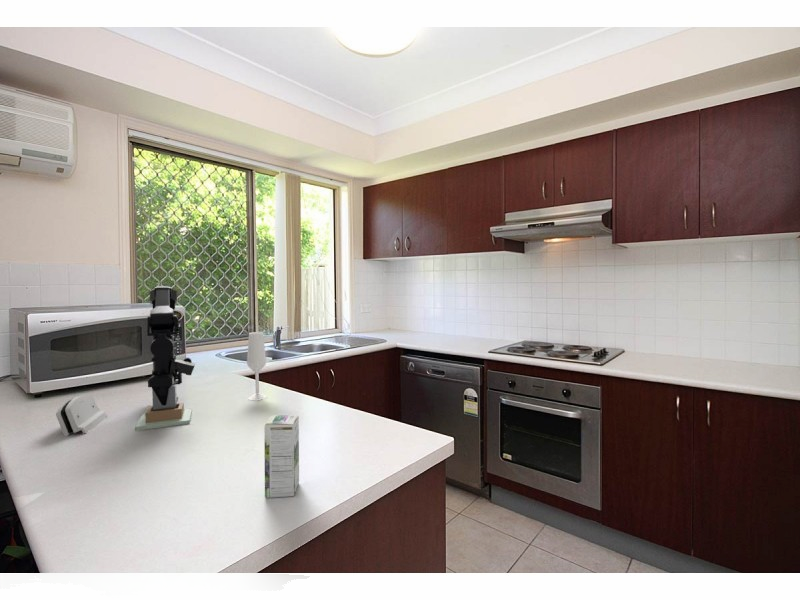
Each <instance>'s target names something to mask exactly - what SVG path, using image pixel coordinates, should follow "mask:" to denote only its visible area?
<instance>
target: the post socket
mask: <svg viewBox="0 0 800 600" xmlns="http://www.w3.org/2000/svg"><path fill="white" fill-rule="evenodd" d="M184 405H185V404H184V402H177V409H168V410H159V411H153V405H150V406H148V408H147V409H146V411H145V413H142V415H141V417H140V418H139V419H138V421H137V422H136V424H135V426H134V431H140V430H149V429H156V428H164V427H173V425H174V426H181V425H180V424H182V425H188V423H189V424H190V423H191V420H190V419H192V414H193V408H185V409H184V407H185V406H184Z"/></svg>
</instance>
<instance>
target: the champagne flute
mask: <svg viewBox="0 0 800 600" xmlns="http://www.w3.org/2000/svg"><path fill="white" fill-rule="evenodd" d="M265 348H266V347H265V340H264V332H262V331H253V332H249V333H248V343H247V356H246V358H247V359H246V365H247V367H248V368H249V369H250V370H252V372H254V373H255V374H254V376H255V393H254V394H252V395H250V397H248V398H247V400H248V399H249V400H248V401H252V400H256V401H262V400H261V399H263V400H265V399H264V398H266V396H267V395H265V394H262V393H261V392H260V381H259V380H260V378H259V375H260V374H259V373H260V371H262V369H264V367H265V366H266V364H267V357H266V349H265ZM266 399H267V398H266Z"/></svg>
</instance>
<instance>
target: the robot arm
mask: <svg viewBox="0 0 800 600" xmlns="http://www.w3.org/2000/svg"><path fill="white" fill-rule="evenodd" d="M149 304H150V305H152V309H150V311H149V315H148V316H147V331H146V333H147V335H146V336H147V337H152V338H151V345H150V348H149V349H150V352H151V355H152V357H151V362H152V372H151V377H149V379H148V380H147V388H151V389H153V391H154V392H155V394H156V396H157V397H158V399H159V401H160V403H161V404H162V405H166V403H167V398H168V392H169V388H170V387H171V386H172V385H173V384H175V383H176V385H180V384H182V383H183V379H182V378H183V374H185V375H186V376H192V374H193V371H194V368H195V365H196V363H195V362H192V358H190V357H185V358H184V359H177V355H175V346H174V345H175V343H174V341H175V339H174V336H176V335H178V333H179V332H180V326H179V325H180V324H179V322H180V321H179V318H178V315H176V314H174V311H175V310H176V304H178V291H177V290H175V289H172V287H171V286H156V287H154V289H152V290H150V291H149ZM173 335H174V336H173ZM178 399H179V397H178V396H177V401H178Z"/></svg>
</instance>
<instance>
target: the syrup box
mask: <svg viewBox="0 0 800 600" xmlns="http://www.w3.org/2000/svg"><path fill="white" fill-rule="evenodd" d="M299 417H300V416H299V415H295V414H277V415H276V414H275V415H271V416H270V417H269V419H268V421H266V424H264V498H265V499H272V498H284V497H285V498H286V497H295V495H296V492H297V490H298V486H299V483H300V451H299V450H300V432H299V431H300V428H299V427H300V425H299V422H300V420H299Z"/></svg>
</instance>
